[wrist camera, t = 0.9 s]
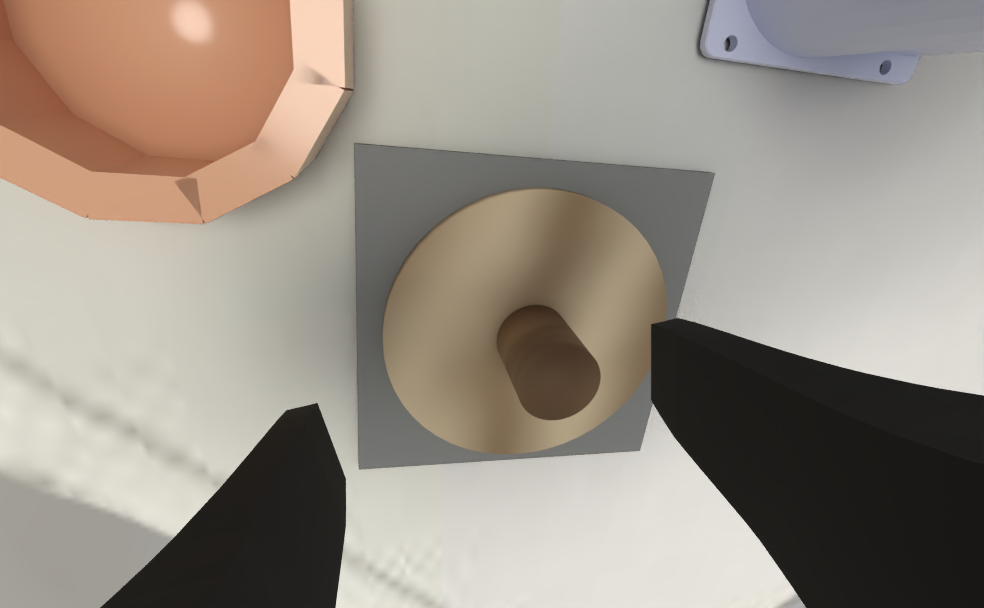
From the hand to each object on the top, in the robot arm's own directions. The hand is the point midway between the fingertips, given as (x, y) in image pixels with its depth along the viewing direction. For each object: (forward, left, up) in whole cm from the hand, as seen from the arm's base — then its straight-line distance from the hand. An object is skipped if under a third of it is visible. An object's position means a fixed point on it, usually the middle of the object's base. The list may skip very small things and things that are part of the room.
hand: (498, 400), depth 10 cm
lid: (-4, +3, -9) cm, 10 cm away
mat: (-4, +3, -10) cm, 11 cm away
